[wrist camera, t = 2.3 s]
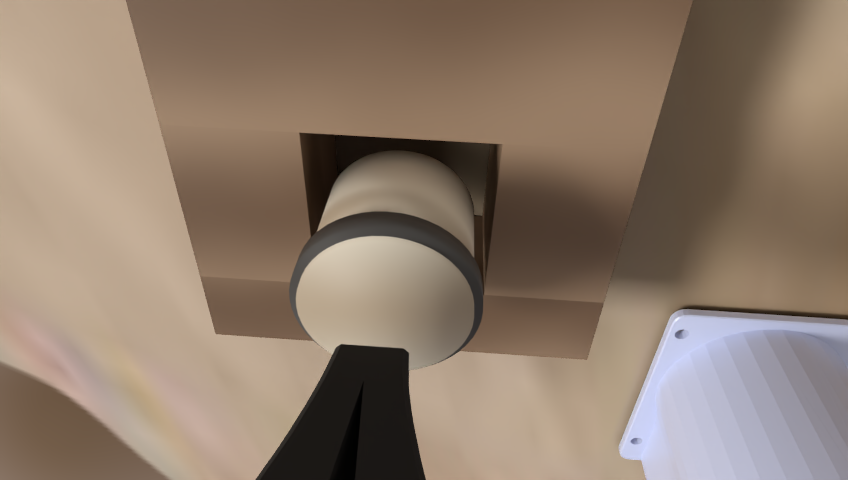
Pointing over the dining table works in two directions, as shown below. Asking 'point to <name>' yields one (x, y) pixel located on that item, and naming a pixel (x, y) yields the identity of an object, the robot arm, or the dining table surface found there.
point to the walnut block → (412, 119)
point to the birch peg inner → (392, 261)
